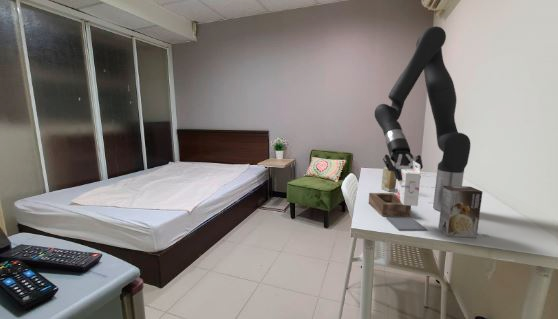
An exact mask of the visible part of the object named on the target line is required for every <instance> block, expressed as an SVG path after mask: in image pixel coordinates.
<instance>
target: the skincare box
mask: <svg viewBox="0 0 558 319" xmlns="http://www.w3.org/2000/svg"><path fill="white" fill-rule="evenodd" d="M382 168H383V169H382V177H381V186H380V187H381V188H380V189H381V190H384V191H387V193H392V192H395V191H396V186H397V185H396V184H397V179H396V177H395V173H394V172H393V171H388V169H387V167H386V166H385V167H382Z"/></svg>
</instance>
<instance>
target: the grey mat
mask: <svg viewBox="0 0 558 319" xmlns="http://www.w3.org/2000/svg"><path fill="white" fill-rule="evenodd" d="M385 218H386V220H387V221H388V222H389V223H390V224H391V225H392V226H394V228H395V229H396V230H398V231H428V228H426V226H424V225H422V224H421V223H420V222H419V221H417V220H416V219H414V218H413V217H385Z"/></svg>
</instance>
